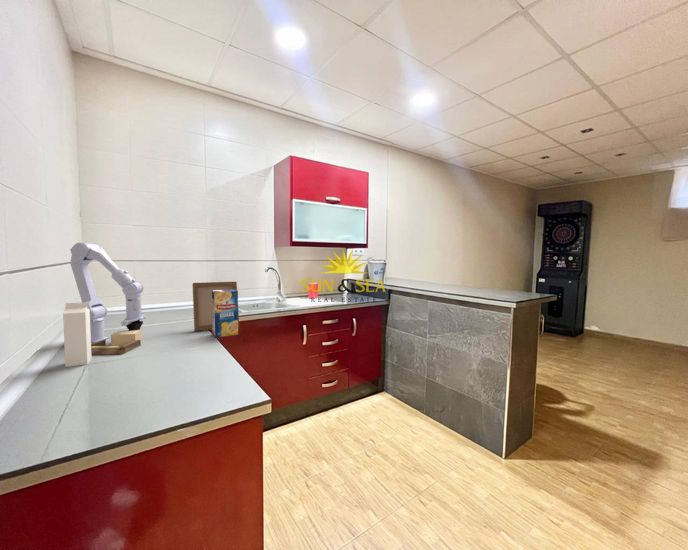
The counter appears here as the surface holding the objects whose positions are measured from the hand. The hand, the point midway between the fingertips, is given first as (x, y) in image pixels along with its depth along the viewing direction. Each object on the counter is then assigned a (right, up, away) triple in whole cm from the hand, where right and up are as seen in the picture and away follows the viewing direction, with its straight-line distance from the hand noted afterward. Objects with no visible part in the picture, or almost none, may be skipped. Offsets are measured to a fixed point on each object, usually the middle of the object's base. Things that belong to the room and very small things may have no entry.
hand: (134, 337), depth 137 cm
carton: (+1, -1, -6) cm, 6 cm away
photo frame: (+26, 0, +26) cm, 37 cm away
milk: (+1, -3, -30) cm, 30 cm away
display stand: (+1, -2, -14) cm, 14 cm away
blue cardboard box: (+37, -1, +12) cm, 39 cm away
